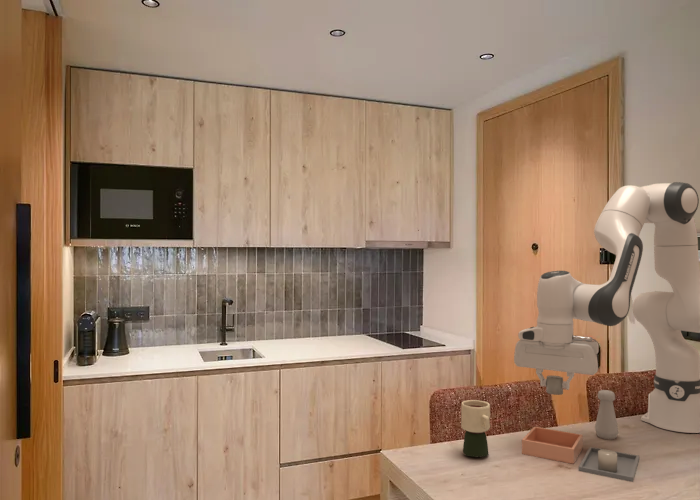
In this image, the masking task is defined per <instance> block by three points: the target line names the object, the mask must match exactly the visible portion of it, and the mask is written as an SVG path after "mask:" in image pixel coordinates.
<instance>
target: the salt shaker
mask: <svg viewBox="0 0 700 500" xmlns="http://www.w3.org/2000/svg"><path fill="white" fill-rule="evenodd" d="M597 398H598V400H599V401H600V402H599V406H598V412H597V416H596V420H595V421H596V422H595V426H594V430H595V433H596V435H597V438H598V437H599V438H600V439H603V440H615V439H616V438H617V437H618V435H619V426H618V421H617V418H616V416H617V415H616V412H615V407H614V401H615V400H616V394H615V392H614V391H612V390H607V389H600V390H599V391H597Z"/></svg>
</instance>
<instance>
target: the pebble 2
mask: <svg viewBox="0 0 700 500" xmlns="http://www.w3.org/2000/svg"><path fill="white" fill-rule="evenodd" d="M614 451H615V450H612V449H611V450H610V449H605V450H599V451H598V469H599V470H602V471H607V472H612V473H616V472H617V453H616V452H617V451H616V452H614Z"/></svg>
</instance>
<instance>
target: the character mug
mask: <svg viewBox="0 0 700 500" xmlns="http://www.w3.org/2000/svg"><path fill="white" fill-rule="evenodd" d="M460 404H461V412H460V414H461V423H460V425H461V429H462V430H463V431H465V433H464V438H463V444H462V445H463V447H462V452H463V455H465V456H468V457H474V458H475V457H477V458H481V457H488V456H489V444H488V439H487V434H486V432H488V431H489V430H490V428H491V423H490V418H491V404H490V403H489V402H488V401H483V400H478V399H472V400H471V399H470V400H469V399H468V400H463V401H462V402H461V403H460Z"/></svg>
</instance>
